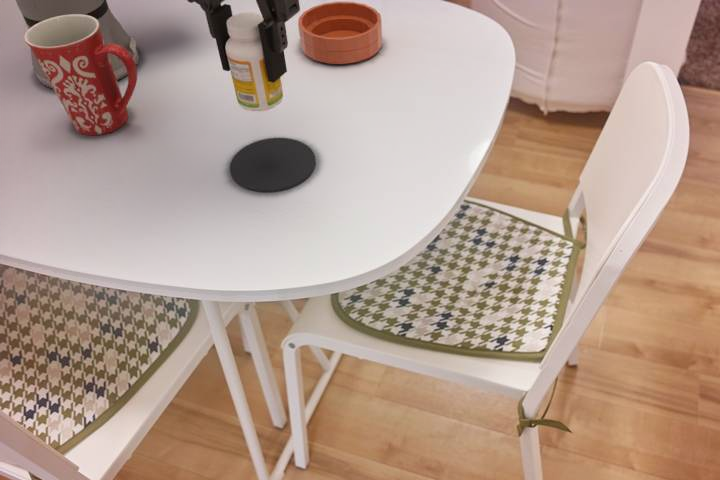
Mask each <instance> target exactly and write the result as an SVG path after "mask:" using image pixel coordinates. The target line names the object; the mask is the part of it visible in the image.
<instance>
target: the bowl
mask: <svg viewBox="0 0 720 480" xmlns="http://www.w3.org/2000/svg"><path fill="white" fill-rule="evenodd" d="M297 26H298V33H299V34H298V35H299V41H300V48H301V50H302V52H303V53H304V54H305V56H306V57H309V58H310V59H312V60H314V61H317V62H321V63H324V64H331V65H332V64H335V65H346V64H353V63H358V62H361V61H363V60H367V59H369V58H372V57H373V56H374V55H376V54H377V53H378V52H379V51H380V49H381V47H382V45H383V36H382V35H383V29H382V15H381V13H379V12H378V10H377V9H376V8H374V7H373V6H370V5H367V4H365V3H360V2H355V1H332V2H325V3H321V4H317V5H314V6H313V7H310V8H308V9H307V10H305V11H302V14H301V15H300V16H299V17H298V21H297Z"/></svg>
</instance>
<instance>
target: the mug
mask: <svg viewBox="0 0 720 480" xmlns="http://www.w3.org/2000/svg"><path fill="white" fill-rule="evenodd" d="M23 41H24V42H25V43H26V45H27V46H28V47H29V48H30V51H31V50H32V51H33V53H34V55H35V57H36V58H37V60H38V62H39V64H40V66H41V68H42V69H43V71H44V73H45V75H46V77H47V78H48V80H49V82H50V84H51V85H52V87H53V88H52V89H53V91H54V93H55V94H56V96H57V98H58V100H59V101H60V103H61V105H62V107H63V109H64V111H65V112H66V114H67V116H68V118H69V120H70V121H71V123H72V125H73V127H74V129H75V130H76V131H77V132H78V133H79V134H83V135H87V136H100V135H105V134H108V133H109V134H110V133H111V132H114V131H116V130H118V129H119V128H121V127H122V126H123V125H125V123H127V121H128V118H129V112H128V109H127V106H128V104H129V102H130V100H131V98H132V97H133V94H134V92H135V90H136V89H135V88H136V85H137V81H138V71H137V65H135V62H134V60H133V58H132V56H131V55H130V53H129V52H128V51H127V50H126V49H125V48H123V47H122V46H120V45H117V44H107V45H105V44H104V41H103V38H102V35H101V32H100V24H99V21H98V20H97V19H96V18H94V17H92V16H88V15H82V14H71V15H62V16H57V17H53V18H50V19H47V20H44V21H42V22H39V23H37V24H35V25H34V26H32V27H31V28H30V29H29V30H28V29H27V30H26V31H25V33H24V35H23ZM108 54H114V55H116V56H117V57H119V58H120V59H121V60H122V62H123V63H124V65H125V67H126V69H127V72H128V74H127V76H128V77H127V78H128V82H127V87H126V90H125V93H124V95H122V92H121V89H120V86H119V83H118V80H116V77H115V74H114V71H113V68H112V65H111V62H110V59H109V56H108Z"/></svg>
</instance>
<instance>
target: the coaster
mask: <svg viewBox="0 0 720 480" xmlns="http://www.w3.org/2000/svg"><path fill="white" fill-rule="evenodd" d="M316 160H317V159H316V155H315V152H314V151H313V150H312V148H311V147H310V146H308V145H307V144H306V143H304V142H302V141H300V140H298V139H295V138H288V137H270V138H264V139H259V140H257V141H254V142H251V143H249V144H247V145H245V146H244V147H242V148H241V149H240V150H238V151H237V152H236V153H235V154H234V155H233V157H232V159H231V161H230V164H229V171H230V175H231V178H232V179H233V181H234V182H235V183H236V184H237V185H239V186H240V187H242V188H244V189H246V190H249V191H253V192H258V193H276V192H282V191H285V190H289V189H292V188H294V187H297V186H298V185H300V184H303V183H304V182H305V181H306V180H308V179H309V177H310V176H312V174H313V172H314V170H315V168H316V163H317V161H316Z"/></svg>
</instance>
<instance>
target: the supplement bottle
mask: <svg viewBox="0 0 720 480" xmlns="http://www.w3.org/2000/svg"><path fill="white" fill-rule="evenodd" d="M263 20H264V19H263V17H262V14H258V13H257V12H240V13H236V14H234V15H233V16H232V17H230V18H229V19H228V20H227V29H228V34H229V36H230V38H229V39H228V41H227V42H226V46H225V48H226V54H227V58H228V62H229V66H230V71H229V72H230V75H231V79H232V83H233V84H232V85H233V87H234V92H235V96H236V97H235V98H236V100H237V103H238V105H239V107H240V108H242V109H244V110H246V111H250V112H256V113H257V112H265V111H269V110H272V109H274V108H276V107H277V106H279V105H280V104H281V103H282V101H283V100H284V92H283V85H282V79H281V77H280V78H279V79H278V80H277V81H275V82H274V83H273V82H269V81H268V77H267V71H266V66H265V60H264V55H263V49H262V44H261V38H260V33H259V28H258V24H259V23H261V22H262V21H263Z"/></svg>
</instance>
